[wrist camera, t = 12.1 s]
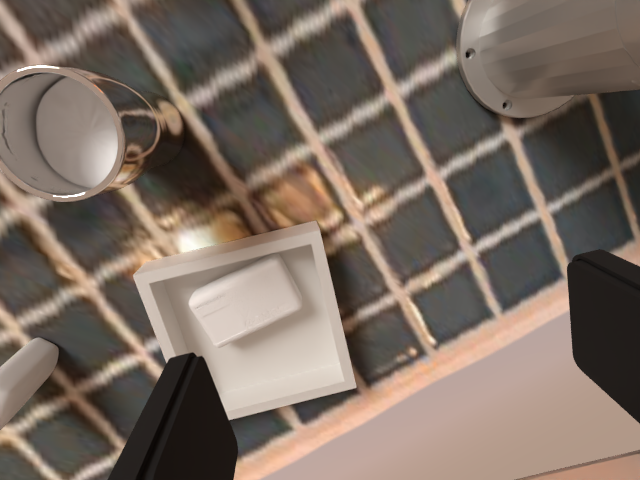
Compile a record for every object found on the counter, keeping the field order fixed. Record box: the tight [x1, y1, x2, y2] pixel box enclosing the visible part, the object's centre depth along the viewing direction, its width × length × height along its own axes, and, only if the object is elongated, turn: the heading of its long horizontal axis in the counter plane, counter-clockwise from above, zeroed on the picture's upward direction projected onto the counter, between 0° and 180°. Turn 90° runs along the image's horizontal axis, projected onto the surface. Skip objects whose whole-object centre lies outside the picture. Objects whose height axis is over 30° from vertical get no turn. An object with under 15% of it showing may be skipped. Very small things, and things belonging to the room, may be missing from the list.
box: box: [133, 221, 357, 420], centre depth 39 cm, size 16×16×4 cm
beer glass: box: [0, 65, 185, 202], centre depth 27 cm, size 7×7×15 cm
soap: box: [189, 253, 302, 348], centre depth 38 cm, size 9×6×3 cm, turn 115°
